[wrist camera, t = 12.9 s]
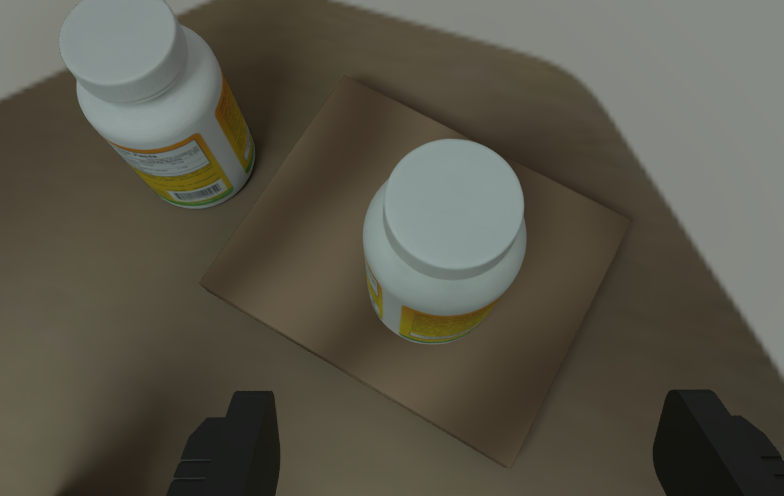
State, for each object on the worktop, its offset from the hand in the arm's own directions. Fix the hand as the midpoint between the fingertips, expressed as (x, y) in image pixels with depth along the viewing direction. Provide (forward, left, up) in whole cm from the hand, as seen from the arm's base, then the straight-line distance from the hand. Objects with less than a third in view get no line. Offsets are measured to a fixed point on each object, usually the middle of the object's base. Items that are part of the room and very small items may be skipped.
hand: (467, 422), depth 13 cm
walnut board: (-4, +6, -14) cm, 16 cm away
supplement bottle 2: (-3, +5, -13) cm, 14 cm away
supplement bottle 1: (-16, +6, -14) cm, 22 cm away
